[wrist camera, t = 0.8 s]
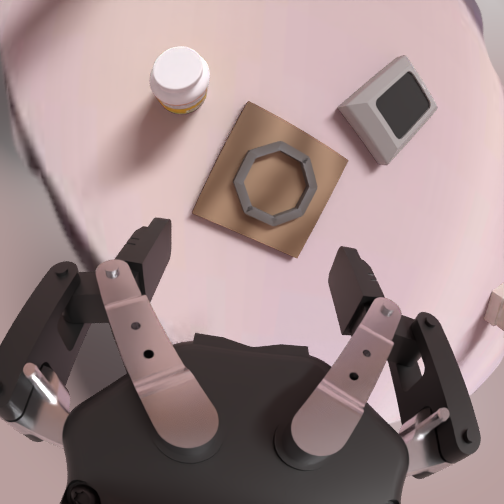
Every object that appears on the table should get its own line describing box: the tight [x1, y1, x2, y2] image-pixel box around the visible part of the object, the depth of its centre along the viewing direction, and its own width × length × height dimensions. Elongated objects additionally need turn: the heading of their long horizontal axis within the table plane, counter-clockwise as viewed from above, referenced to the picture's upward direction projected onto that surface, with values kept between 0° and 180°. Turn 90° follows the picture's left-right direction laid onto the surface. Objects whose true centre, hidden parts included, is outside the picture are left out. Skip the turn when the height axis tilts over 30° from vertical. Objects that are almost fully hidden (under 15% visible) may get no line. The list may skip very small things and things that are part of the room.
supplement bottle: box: [150, 47, 210, 114], centre depth 21 cm, size 5×5×10 cm
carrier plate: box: [192, 101, 348, 258], centre depth 31 cm, size 14×14×2 cm
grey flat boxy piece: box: [337, 55, 438, 165], centre depth 29 cm, size 10×4×15 cm
